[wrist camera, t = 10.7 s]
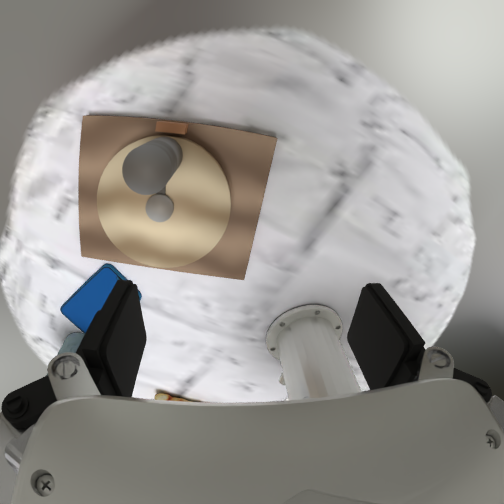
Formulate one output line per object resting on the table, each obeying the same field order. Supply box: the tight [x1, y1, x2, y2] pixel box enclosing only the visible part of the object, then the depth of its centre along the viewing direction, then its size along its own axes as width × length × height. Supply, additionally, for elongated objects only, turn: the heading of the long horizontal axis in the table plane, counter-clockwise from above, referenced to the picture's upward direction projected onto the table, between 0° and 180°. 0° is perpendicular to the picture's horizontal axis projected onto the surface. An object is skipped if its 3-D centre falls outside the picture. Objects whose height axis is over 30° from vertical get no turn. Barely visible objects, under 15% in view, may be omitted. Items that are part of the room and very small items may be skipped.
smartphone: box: [60, 264, 142, 333], centre depth 38 cm, size 7×1×15 cm
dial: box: [97, 135, 231, 268], centre depth 27 cm, size 15×15×9 cm
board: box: [79, 115, 277, 280], centre depth 31 cm, size 18×22×4 cm
